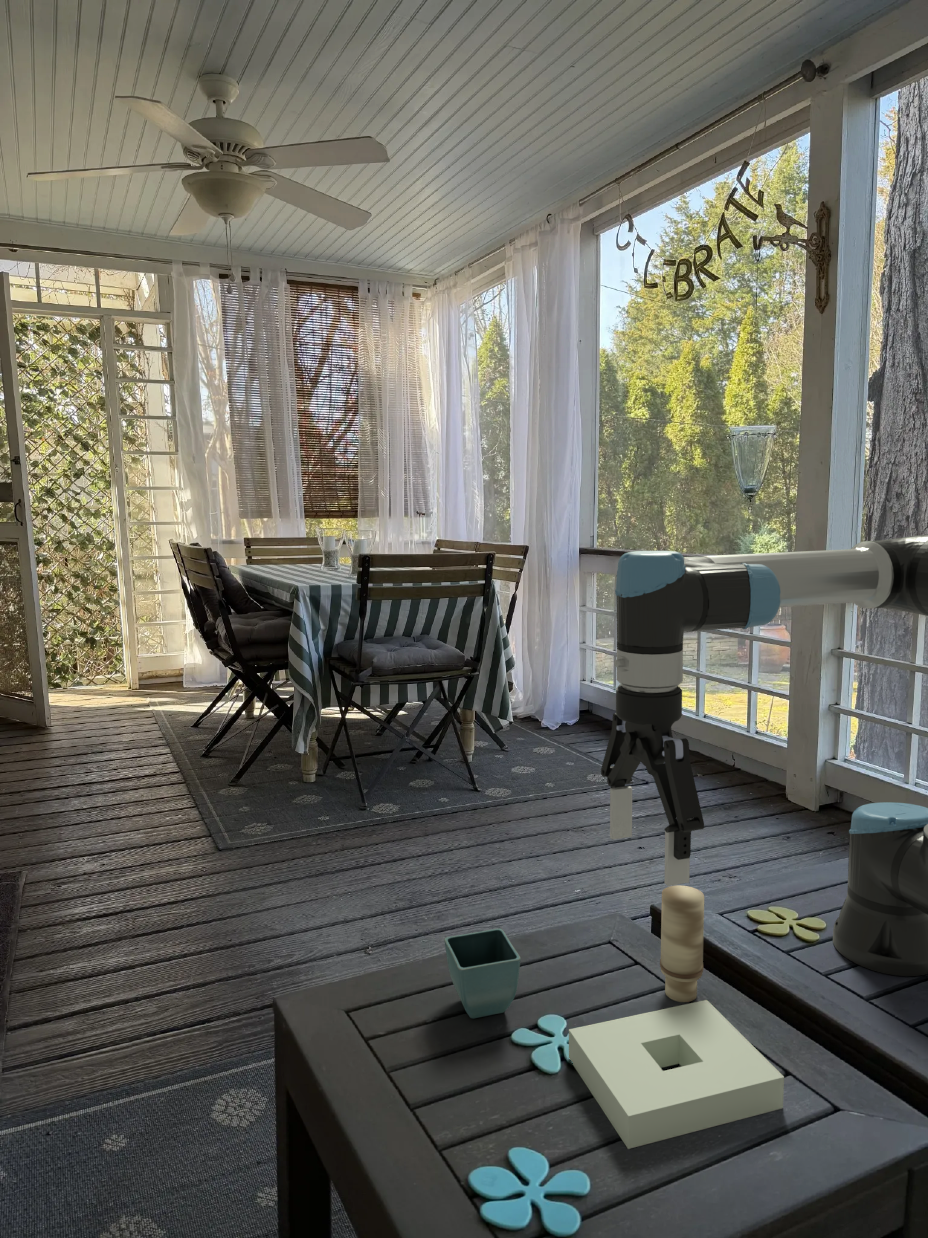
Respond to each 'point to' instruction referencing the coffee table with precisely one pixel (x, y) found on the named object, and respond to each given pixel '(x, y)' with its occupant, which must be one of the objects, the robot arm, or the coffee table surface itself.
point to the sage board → (673, 1072)
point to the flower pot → (483, 971)
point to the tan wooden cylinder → (682, 941)
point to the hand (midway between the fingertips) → (647, 859)
